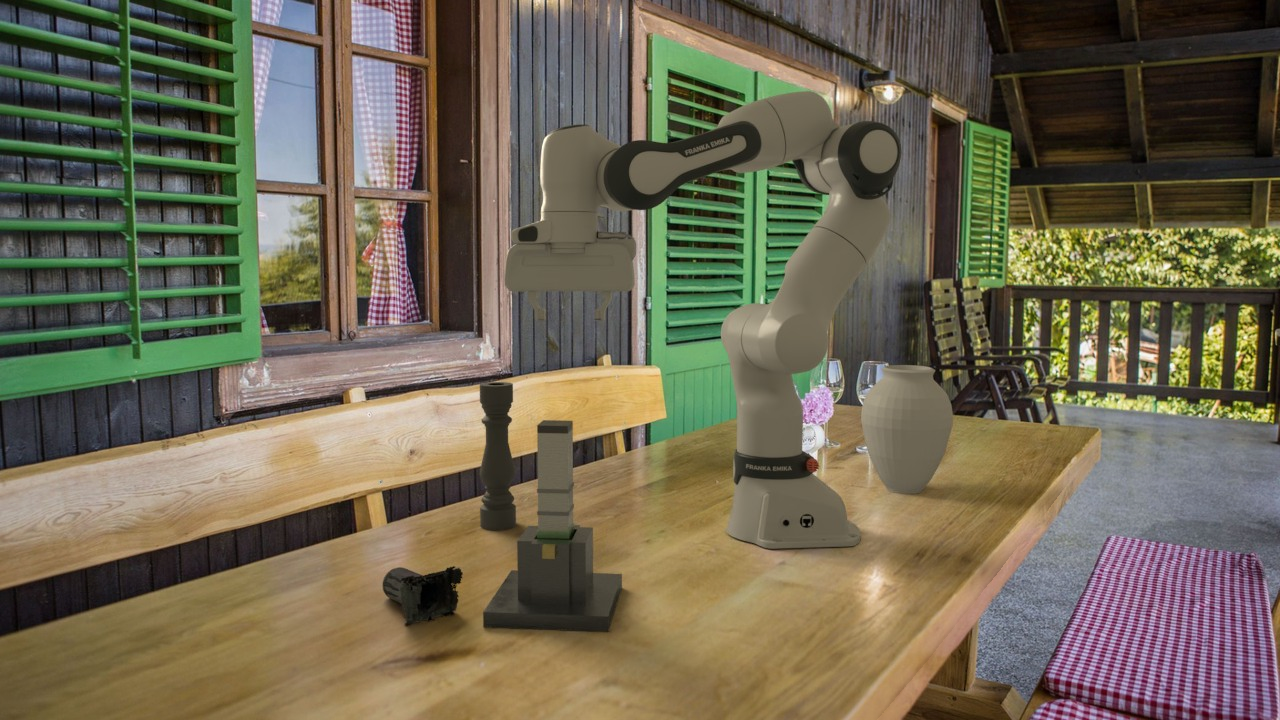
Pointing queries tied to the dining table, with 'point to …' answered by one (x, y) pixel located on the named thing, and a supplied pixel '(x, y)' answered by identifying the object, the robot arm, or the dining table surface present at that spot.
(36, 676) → the dining table surface
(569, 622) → the stand
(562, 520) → the column
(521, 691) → the dining table surface
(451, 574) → the dark flanged cylinder
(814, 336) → the robot arm
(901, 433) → the vase
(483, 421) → the candle holder
